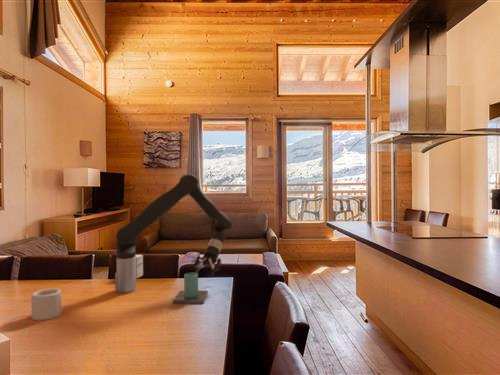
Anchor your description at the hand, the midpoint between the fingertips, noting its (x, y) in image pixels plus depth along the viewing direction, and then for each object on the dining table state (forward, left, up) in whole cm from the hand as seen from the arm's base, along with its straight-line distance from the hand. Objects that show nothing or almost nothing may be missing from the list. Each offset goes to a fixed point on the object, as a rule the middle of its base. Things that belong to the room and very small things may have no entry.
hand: (202, 275), depth 170 cm
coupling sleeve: (-4, -11, -6) cm, 13 cm away
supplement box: (-45, +28, -8) cm, 54 cm away
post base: (-4, -11, -8) cm, 14 cm away
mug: (-62, -31, -8) cm, 70 cm away
